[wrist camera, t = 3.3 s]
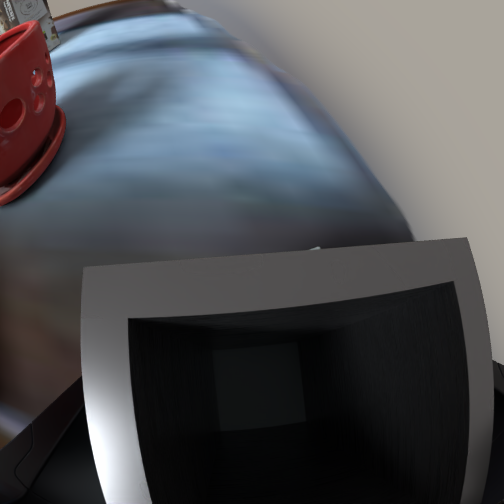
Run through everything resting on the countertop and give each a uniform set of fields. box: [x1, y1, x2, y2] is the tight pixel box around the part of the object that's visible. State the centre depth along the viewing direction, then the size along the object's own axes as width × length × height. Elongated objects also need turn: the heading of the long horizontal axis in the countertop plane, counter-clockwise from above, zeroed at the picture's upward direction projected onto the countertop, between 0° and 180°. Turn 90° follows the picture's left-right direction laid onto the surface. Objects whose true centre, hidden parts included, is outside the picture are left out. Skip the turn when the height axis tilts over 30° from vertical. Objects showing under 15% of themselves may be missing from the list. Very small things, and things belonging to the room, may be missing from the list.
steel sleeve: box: [81, 237, 494, 504], centre depth 7 cm, size 5×5×10 cm
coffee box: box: [0, 0, 60, 51], centre depth 20 cm, size 9×6×16 cm
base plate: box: [212, 246, 320, 431], centre depth 10 cm, size 16×11×4 cm
